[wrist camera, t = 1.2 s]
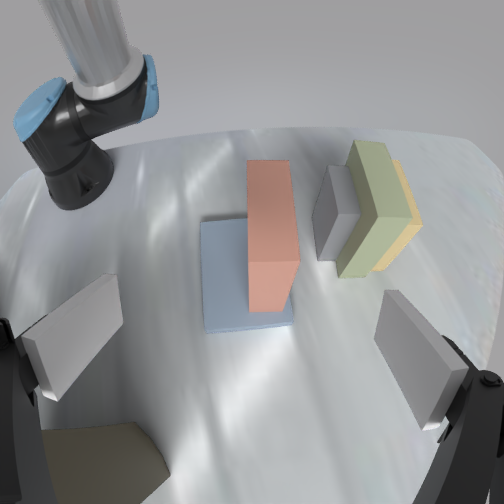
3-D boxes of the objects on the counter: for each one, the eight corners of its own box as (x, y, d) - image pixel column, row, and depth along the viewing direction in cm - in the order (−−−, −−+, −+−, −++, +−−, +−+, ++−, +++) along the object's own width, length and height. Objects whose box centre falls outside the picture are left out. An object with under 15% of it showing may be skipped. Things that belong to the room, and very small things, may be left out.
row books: (327, 212, 50) (353, 139, 35) (370, 213, 50) (405, 145, 35) (338, 278, 45) (378, 216, 29) (384, 276, 45) (436, 218, 30)
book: (139, 419, 35) (2, 425, 10) (176, 472, 32) (81, 556, 7) (45, 464, 29) (-86, 471, 4) (74, 511, 25) (-43, 554, 1)
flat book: (202, 229, 48) (200, 221, 47) (275, 222, 49) (276, 214, 47) (206, 333, 41) (204, 330, 39) (291, 325, 41) (293, 321, 39)
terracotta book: (248, 234, 45) (246, 159, 31) (277, 234, 46) (288, 159, 31) (249, 312, 40) (248, 262, 26) (282, 311, 40) (300, 261, 26)
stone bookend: (311, 217, 50) (327, 164, 38) (328, 218, 50) (348, 166, 38) (317, 261, 46) (338, 214, 34) (335, 260, 46) (361, 214, 34)
